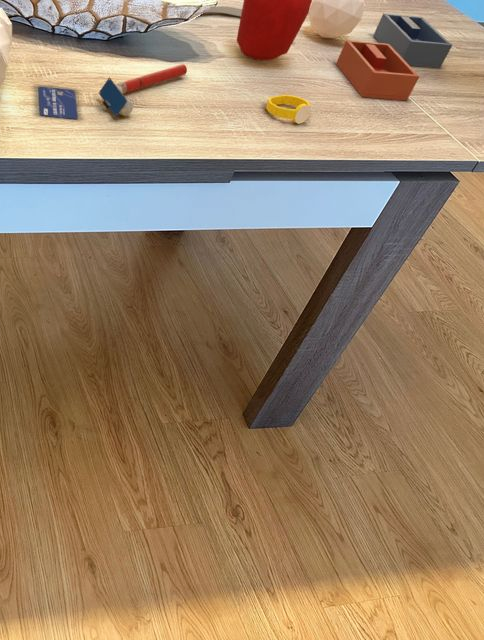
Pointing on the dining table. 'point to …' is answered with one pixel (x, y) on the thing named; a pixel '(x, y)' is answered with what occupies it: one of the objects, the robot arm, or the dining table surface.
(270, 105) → the watch
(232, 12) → the machete
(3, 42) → the bowl
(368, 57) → the red disc on stick
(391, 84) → the red bin
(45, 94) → the credit card
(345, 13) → the decorative ball
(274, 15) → the red rounded piece
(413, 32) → the blue spoon
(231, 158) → the dining table surface
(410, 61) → the blue bin
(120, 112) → the ultrasonic sensor
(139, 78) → the flare
